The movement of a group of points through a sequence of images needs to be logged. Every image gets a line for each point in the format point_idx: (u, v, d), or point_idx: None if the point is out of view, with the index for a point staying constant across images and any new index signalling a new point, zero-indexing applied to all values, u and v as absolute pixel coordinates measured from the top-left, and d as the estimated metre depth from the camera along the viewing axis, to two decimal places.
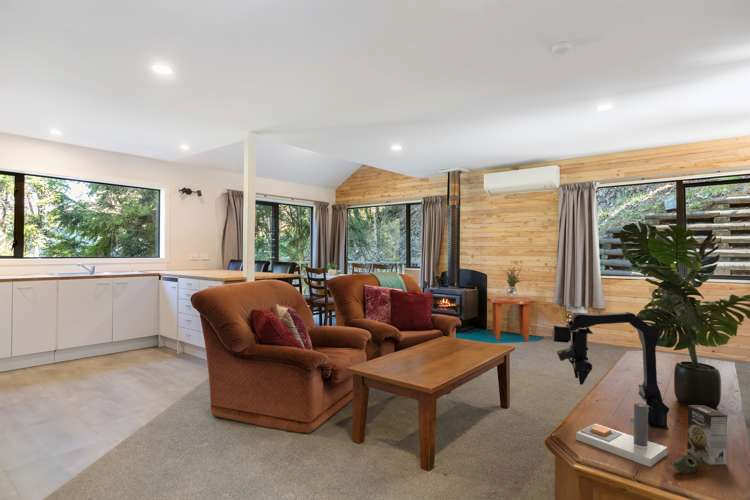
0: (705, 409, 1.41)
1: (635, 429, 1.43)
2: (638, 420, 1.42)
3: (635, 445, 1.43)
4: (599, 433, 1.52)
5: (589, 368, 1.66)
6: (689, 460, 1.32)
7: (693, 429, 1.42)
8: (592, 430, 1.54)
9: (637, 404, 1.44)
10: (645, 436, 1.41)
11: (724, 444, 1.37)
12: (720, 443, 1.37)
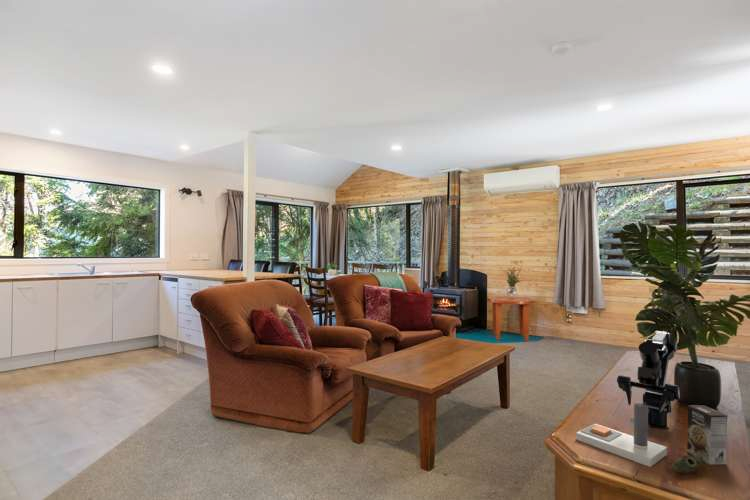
0: (705, 409, 1.41)
1: (635, 429, 1.43)
2: (638, 420, 1.42)
3: (635, 445, 1.43)
4: (599, 433, 1.52)
5: (679, 397, 1.48)
6: (689, 460, 1.32)
7: (693, 429, 1.42)
8: (592, 430, 1.54)
9: (637, 404, 1.44)
10: (645, 436, 1.41)
11: (724, 444, 1.37)
12: (720, 443, 1.37)
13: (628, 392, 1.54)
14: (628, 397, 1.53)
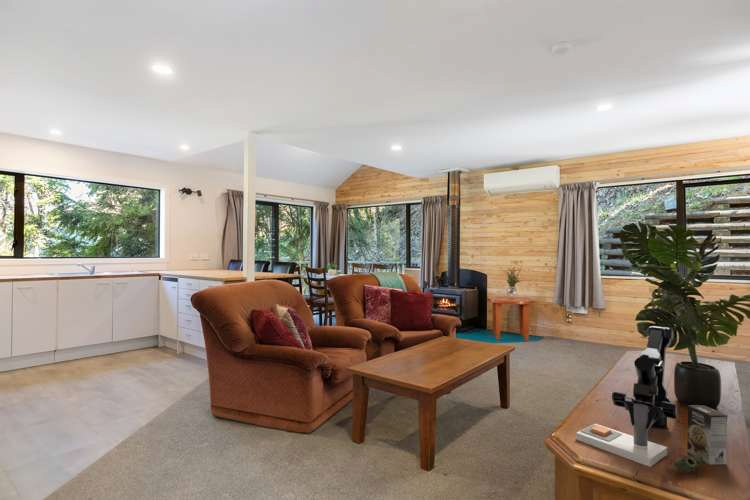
0: (705, 409, 1.41)
1: (635, 429, 1.43)
2: (638, 420, 1.42)
3: (635, 445, 1.43)
4: (599, 433, 1.52)
5: (676, 416, 1.41)
6: (689, 460, 1.32)
7: (693, 429, 1.42)
8: (592, 430, 1.54)
9: (637, 404, 1.44)
10: (645, 436, 1.41)
11: (724, 444, 1.37)
12: (720, 443, 1.37)
13: (631, 411, 1.45)
14: (631, 417, 1.45)
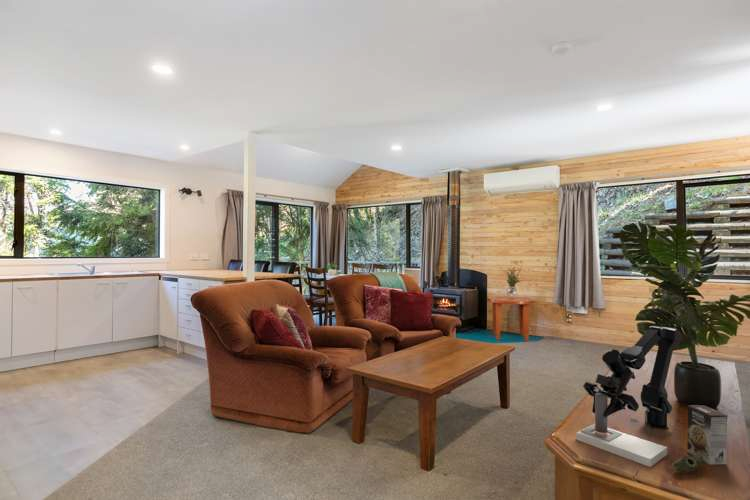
0: (705, 409, 1.41)
1: (595, 416, 1.54)
2: (596, 408, 1.53)
3: (595, 431, 1.54)
4: None
5: (636, 408, 1.47)
6: (689, 460, 1.32)
7: (693, 429, 1.42)
8: None
9: (598, 393, 1.54)
10: (602, 423, 1.52)
11: (724, 444, 1.37)
12: (720, 443, 1.37)
13: None
14: (594, 405, 1.56)
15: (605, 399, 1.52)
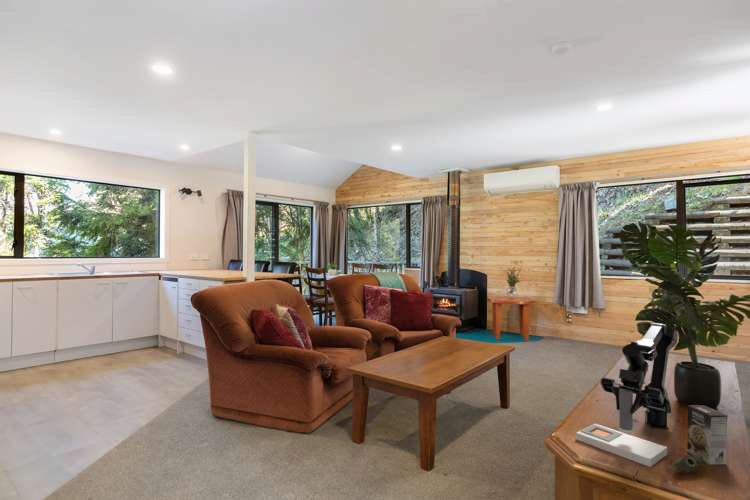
0: (705, 409, 1.41)
1: (620, 413, 1.46)
2: (622, 405, 1.45)
3: (620, 429, 1.46)
4: None
5: (662, 402, 1.43)
6: (689, 460, 1.32)
7: (693, 429, 1.42)
8: None
9: (622, 389, 1.47)
10: (629, 420, 1.44)
11: (724, 444, 1.37)
12: (720, 443, 1.37)
13: (617, 396, 1.49)
14: (617, 402, 1.48)
15: (631, 395, 1.45)
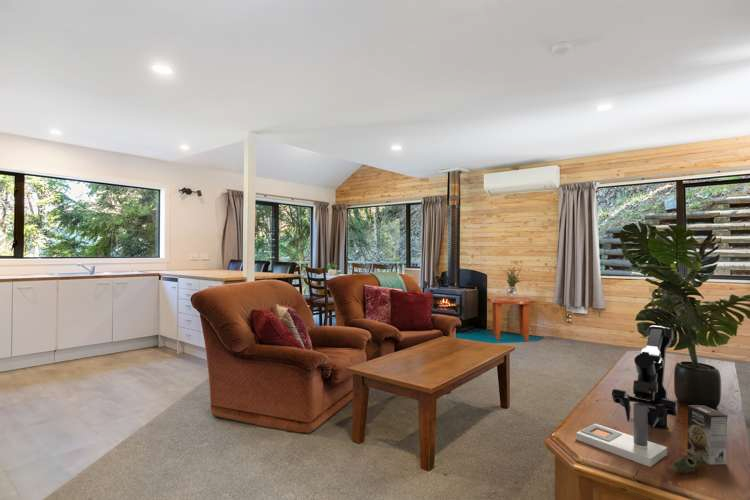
0: (705, 409, 1.41)
1: (635, 429, 1.43)
2: (637, 420, 1.42)
3: (635, 445, 1.43)
4: None
5: (676, 413, 1.41)
6: (689, 460, 1.32)
7: (693, 429, 1.42)
8: None
9: (637, 404, 1.44)
10: (645, 436, 1.41)
11: (724, 444, 1.37)
12: (720, 443, 1.37)
13: (627, 408, 1.46)
14: (627, 413, 1.45)
15: (647, 410, 1.42)
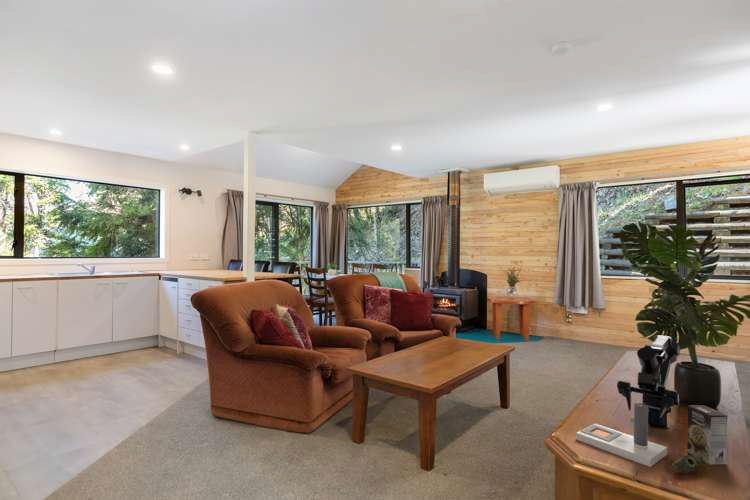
0: (705, 409, 1.41)
1: (635, 429, 1.43)
2: (638, 420, 1.42)
3: (635, 445, 1.43)
4: None
5: (678, 402, 1.49)
6: (689, 460, 1.32)
7: (693, 429, 1.42)
8: None
9: (637, 404, 1.44)
10: (645, 436, 1.41)
11: (724, 444, 1.37)
12: (720, 443, 1.37)
13: (628, 397, 1.55)
14: (628, 402, 1.54)
15: (647, 409, 1.42)
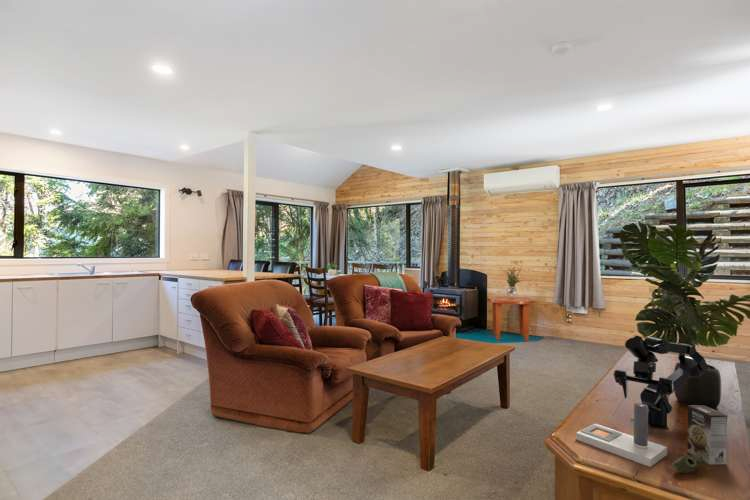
0: (705, 409, 1.41)
1: (635, 429, 1.43)
2: (638, 420, 1.42)
3: (635, 445, 1.43)
4: None
5: (673, 390, 1.55)
6: (689, 460, 1.32)
7: (693, 429, 1.42)
8: None
9: (637, 404, 1.44)
10: (645, 436, 1.41)
11: (724, 444, 1.37)
12: (720, 443, 1.37)
13: (624, 386, 1.61)
14: (624, 390, 1.60)
15: (647, 409, 1.42)
